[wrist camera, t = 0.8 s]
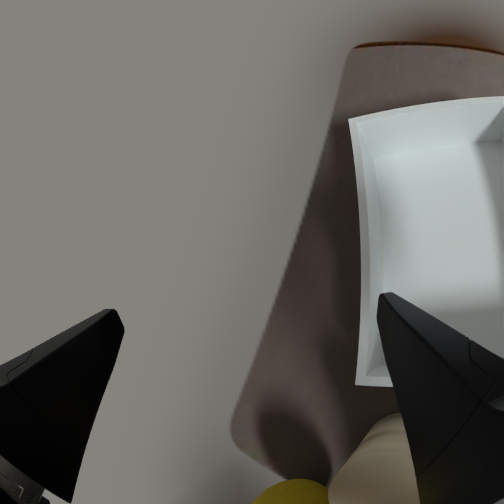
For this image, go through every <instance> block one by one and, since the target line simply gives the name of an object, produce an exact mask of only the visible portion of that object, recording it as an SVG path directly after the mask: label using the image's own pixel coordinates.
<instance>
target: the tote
mask: <svg viewBox="0 0 504 504" xmlns="http://www.w3.org/2000/svg"><path fill="white" fill-rule="evenodd" d="M348 120H349V127H350V133H351V140H352V147H353V155H354V163H355V172H356V182H357V193H358V206H359V221H360V243H361V311H360V333H359V348H358V361H357V371H356V381H355V385H363V386H382V387H393V384H392V381H391V378H390V375H389V372H388V369H387V365H386V362H385V357H384V353H383V348H382V343H381V338H380V334H379V329H378V325H377V319H376V315H377V306H378V298H379V295H380V294H381V293H386V292H393V293H395V294H396V295H398V296H400V297H402V298H403V299H405V300H407V301H409V302H410V303H412V304H414V305H415V306H417V307H419V308H420V309H422V310H424V311H425V312H427V313H429V314H430V315H432V316H434V317H435V318H437V319H439V320H440V321H442V322H444V323H445V324H447V325H449V326H450V327H452V328H454V329H455V330H457V331H458V332H460V333H462V334H463V335H465V336H466V337H468V338H469V339H470V340H473V341H475V342H476V343H478V344H479V345H481V346H483V347H484V348H486V349H488V350H489V351H491V352H493V353H494V354H496V355H498V356H500V357H502V358H503V359H504V96H500V97H482V98H469V99H459V100H450V101H442V102H434V103H427V104H421V105H415V106H409V107H403V108H398V109H392V110H387V111H382V112H377V113H373V114H368V115H364V116H359V117H355V118H351V119H348Z"/></svg>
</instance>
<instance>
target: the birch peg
mask: <svg viewBox="0 0 504 504" xmlns="http://www.w3.org/2000/svg"><path fill="white" fill-rule="evenodd" d="M416 478H417V477H416V476H415V471H414V466H413V461H412V457H411V452H410V448H409V443H408V439H407V435H406V431H405V427H404V423H403V419H402V416H401V413H395V414H391V415H388V416H386V417H384V418H382V419H381V420H379V421H378V422H376V423H375V424H374V425H373V426H372V428H371V429H370V430H369V432H368V433H367V435H366V436H365V437H364V439H363V440H362V442H361V443H360V444H359V446H358V447H357V449H356V450H355V451H354V453H353V454H352V455H351V457H350V458H349V459H348V461H347V462H346V463H345V464H344V466H343V467H342V468H341V469H340V471H339V472H338V473H337V474H336V475H335V477H334V478H333V480H332V482H331V484H330V486H329V491H328V499H329V503H330V504H420V501H419V494H418V488H417V483H416Z"/></svg>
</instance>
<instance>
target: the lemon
mask: <svg viewBox="0 0 504 504" xmlns="http://www.w3.org/2000/svg"><path fill="white" fill-rule="evenodd" d="M252 504H330V503H329V499H328V490H327V489H326V488H325V487H324V486H323V485H321V484H320V483H318V482H315V481H313V480H308V479H291V480H286V481H283V482H280V483H278V484H276V485H274V486H272V487H270V488H268V489H267V490H266V491H264V492H263V493H262V494H261V495H260V496H259V497H257V499H255V501H254V502H253V503H252Z"/></svg>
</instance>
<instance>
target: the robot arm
mask: <svg viewBox="0 0 504 504" xmlns="http://www.w3.org/2000/svg"><path fill="white" fill-rule="evenodd" d="M376 319H377V325H378V329H379V334H380V338H381V343H382V348H383V353H384V357H385V362H386V365H387V369H388V372H389V375H390V378H391V381H392V384H393V388H394V391H395V394H396V398H397V401H398V405H399V408H400V412H401V416H402V419H403V423H404V427H405V431H406V435H407V439H408V443H409V448H410V452H411V457H412V461H413V466H414V471H415V476H416V477H417V478H416V483H417V488H418V494H419V501H420V504H504V359H503V358H502V357H500V356H498V355H496V354H494V353H493V352H491V351H489V350H488V349H486V348H484V347H483V346H481V345H479V344H478V343H476V342H475V341H473V340H470V339H469V338H468V337H466V336H465V335H463V334H462V333H460V332H458V331H457V330H455V329H454V328H452V327H450V326H449V325H447V324H445V323H444V322H442V321H440V320H439V319H437V318H435V317H434V316H432V315H430V314H429V313H427V312H425V311H424V310H422V309H420V308H419V307H417V306H415V305H414V304H412V303H410V302H409V301H407V300H405V299H403V298H402V297H400V296H398V295H396V294H395V293H393V292H386V293H381V294H380V295H379V298H378V306H377V315H376ZM123 335H124V326H123V324H122V321H121V319H120V317H119V315H118V313H117V311H116V310H115V309H105V310H103V311H101V312H99V313H97V314H95V315H93V316H91V317H89V318H88V319H86V320H84V321H82V322H80V323H78V324H76V325H75V326H73V327H71V328H69V329H67V330H65V331H64V332H62V333H60V334H58V335H56V336H54V337H53V338H51V339H49V340H47V341H45V342H44V343H42V344H40V345H38V346H36V347H35V348H33V349H31V350H29V351H27V352H25V353H24V354H22V355H20V356H18V357H16V358H14V359H12V360H10V361H8V362H6V363H4V364H2V365H0V504H50V502H49V500H48V499H46V498H45V497H43V496H42V495H43V493H44V490H45V489H47V490H48V491H50V492H51V493H53V494H55V495H56V496H58V497H59V498H61V499H63V500H65V501H66V502H68V503H71V501H72V498H73V494H74V490H75V485H76V482H77V478H78V474H79V470H80V467H81V463H82V459H83V455H84V452H85V449H86V445H87V442H88V439H89V436H90V432H91V429H92V426H93V423H94V420H95V417H96V414H97V411H98V409H99V406H100V403H101V400H102V397H103V394H104V392H105V389H106V387H107V384H108V381H109V379H110V376H111V373H112V371H113V368H114V365H115V362H116V359H117V355H118V352H119V349H120V345H121V342H122V339H123Z"/></svg>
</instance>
